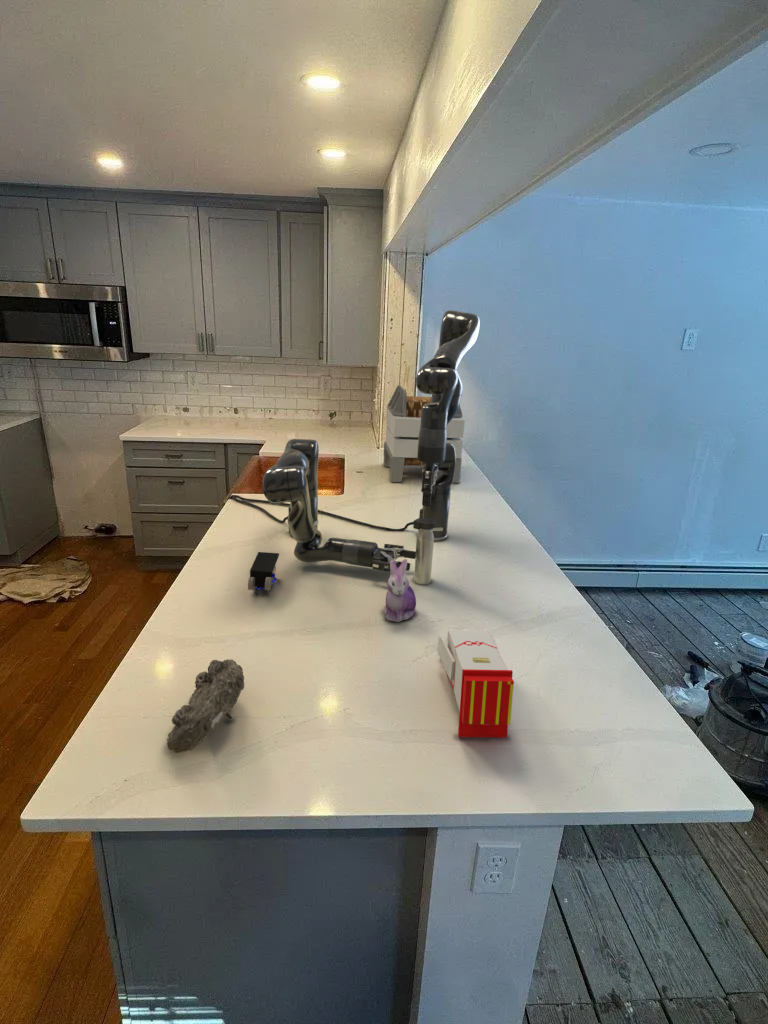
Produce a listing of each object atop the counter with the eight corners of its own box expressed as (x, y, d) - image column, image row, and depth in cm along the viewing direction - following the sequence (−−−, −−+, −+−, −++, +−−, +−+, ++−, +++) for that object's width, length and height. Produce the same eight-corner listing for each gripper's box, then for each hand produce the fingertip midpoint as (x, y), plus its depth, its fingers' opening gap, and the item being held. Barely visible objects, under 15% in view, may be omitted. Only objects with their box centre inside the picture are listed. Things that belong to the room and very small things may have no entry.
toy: (488, 613, 130) (523, 677, 101) (484, 667, 133) (517, 744, 104) (435, 612, 130) (455, 676, 101) (432, 666, 133) (451, 743, 103)
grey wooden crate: (382, 463, 289) (386, 382, 275) (445, 464, 293) (451, 384, 279) (390, 482, 257) (394, 392, 243) (460, 483, 261) (468, 394, 247)
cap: (418, 529, 158) (418, 523, 158) (418, 523, 163) (418, 517, 162) (434, 530, 158) (434, 524, 158) (433, 524, 163) (434, 518, 162)
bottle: (413, 583, 164) (417, 524, 158) (413, 576, 169) (417, 518, 162) (430, 585, 164) (435, 525, 158) (430, 577, 168) (434, 519, 162)
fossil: (192, 660, 117) (244, 628, 112) (224, 691, 120) (276, 661, 115) (142, 746, 98) (202, 712, 93) (182, 779, 101) (242, 748, 96)
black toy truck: (272, 602, 153) (280, 572, 166) (271, 579, 149) (279, 550, 163) (247, 602, 152) (257, 572, 166) (245, 578, 149) (256, 549, 162)
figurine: (392, 627, 141) (395, 572, 136) (374, 608, 149) (376, 556, 144) (425, 619, 145) (429, 566, 140) (405, 601, 154) (408, 550, 149)
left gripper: (352, 550, 161) (408, 558, 157) (367, 532, 174) (418, 540, 170) (352, 574, 163) (406, 583, 159) (366, 555, 176) (417, 563, 172)
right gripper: (443, 450, 145) (438, 511, 151) (448, 439, 158) (444, 495, 164) (414, 447, 146) (410, 508, 152) (422, 436, 160) (418, 492, 165)
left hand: (413, 561), depth 165 cm, fingers open, 8 cm apart
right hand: (427, 501), depth 158 cm, fingers open, 7 cm apart
